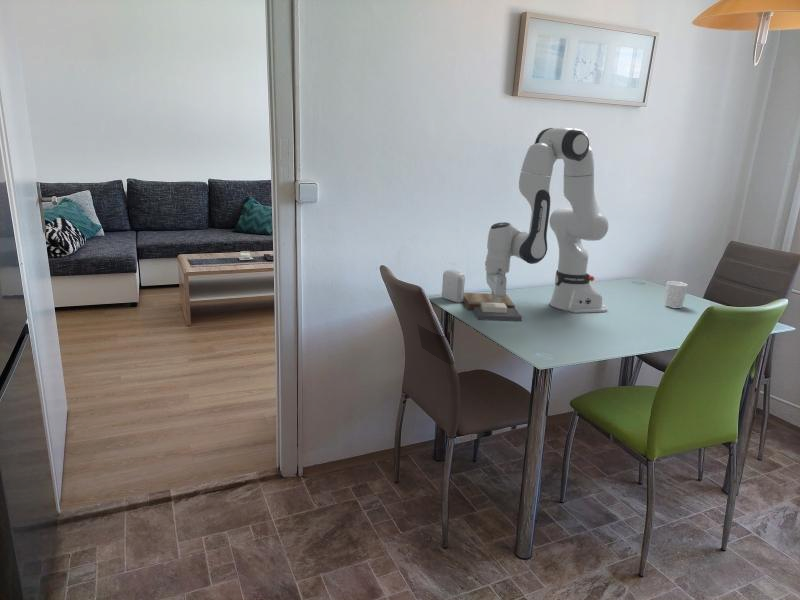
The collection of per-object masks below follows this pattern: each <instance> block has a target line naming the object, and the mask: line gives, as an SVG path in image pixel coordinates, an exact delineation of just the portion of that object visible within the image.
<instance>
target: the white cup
mask: <svg viewBox="0 0 800 600" xmlns="http://www.w3.org/2000/svg"><path fill="white" fill-rule="evenodd" d="M688 286H689V285H688V284H687V283H686V282H681V281H677V280H668V281H667V282H666V285H665V292H664V293H665V294H664V303H665V305H666V306H670V307H676V308H680V307H682V308H683V304H684V301H685V297H686V294H687V289H688ZM665 305H664V306H665ZM666 306H665V307H666Z"/></svg>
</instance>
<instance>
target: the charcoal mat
mask: <svg viewBox="0 0 800 600" xmlns="http://www.w3.org/2000/svg"><path fill="white" fill-rule="evenodd" d="M473 312H474V314H475V313H476V314H475V316H476V315H477V316H476V318H477V317H478V318H477V320H481V319H492V320H491V321H519V322H521V321H522V318H523V317H522V315H521V313H519V312H518V310H517V309H516V307H515V308H507V313H499V312H483V311H482V309H481V307H474V310H473Z"/></svg>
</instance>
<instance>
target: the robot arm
mask: <svg viewBox="0 0 800 600" xmlns="http://www.w3.org/2000/svg"><path fill="white" fill-rule="evenodd" d="M593 153H594V152H593V149H592V147H590V139H589V136H588V134H587V132H585V131H584V130H582V129H579V128H571V127H565V126H564V127H555V128H554V127H549V128H546V129H543V130H541V131H540V132H539V133H538V134H537V137H536V138H535V141H534V143H533V144H532V145H530V146H529V148H528V149H527V151H526V155H525V157H524V160H523V162H522V166H521V170H520V174H519V180H518V189H519V192H520V194H521V195H522V196H523V197H524V198H525V200H526V201H527V202H528V203H529V205H530V208H531V215H530V224H529V231H528V232H527V231H523V230H520V229H518V228H516V227H515V226H513V225H512V224H511V223H510V222H505V221H504V222H497V223H494V224H492V225H491V226H490V228H489V231H488V235H487V236H488V237H487V253H486V259H485V261H484V264H485V265H484V266H485V271H486V274H485V278H486V284H487V285H488V287H489V288H490V289H491V294H492V301H493V302H494V303H497V302H498V298H499V297H505V295H506V294H507V276H506V274H507V273H509V272H510V266H511V257H513V256H514V257H516V258H518V259H520V260H522V261H524V262H526V263H527V264H532V265H534V264H538V263H540V262H541V261H543V259H544V258H545V257H546V255H547V252H548V239H547V237H548V235H547V234H548V226H549V227H550V229H551V230H552V231H553V233H554V235H555V238H556V240H557V245H558V265H557V269H556V272H555V276H554V289H553V292H552V293H553V294H552V295H551V299H550V301H549V305H550V306H551V307H553V308H555V309H559V310H562V311H563V310H564V311H567V312H571V313H573V314H574V313H602V312H608V307H607V305H606V304H605V303H603V296H602V294H601V292H600V291H599V290H598V289H597V288H596V287H595V286H594V285H593V284H592V283H591V282H594V281H595V277H594V276H593V275H590V274H589V273H588V272H587V271H588V262H589V253H588V251H587V250H586V248H585V247H584V245H583V243H582V240H584V241H594V242H595V241H601V240H602V239H603V238H605V236H606V235H607V233H608V230H609V221H608V218H606V216H605V215H604V214H603V212H601V210H600V208H599V206H598V203H597V200H596V195H595V163H594V154H593ZM557 160H563V164H564V165H563V196H564V197H565V199H566V200H567V201H568V202H569V204H570V206H571V207H561V208H560V207H558V208H556V209H554V211H552V212H551V214H550V210H551V209H550V208H551V195H550V185H551V179H552V175H553V170H554V165H555V163H556V162H557Z"/></svg>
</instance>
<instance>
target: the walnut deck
mask: <svg viewBox="0 0 800 600" xmlns="http://www.w3.org/2000/svg"><path fill="white" fill-rule="evenodd" d="M463 302H464V304H465V307H466V308H467V310H468V311H474V307H481V302H487V303H494V302H493V301H492V293H480V292H479V293H475V292H474V293H472V292H464V298H463ZM497 303H504V304H505V305H506V307H507V308H515V309H516V304H515V303H514V302H513V300H512V299H510V297H509V296H508V294H507V293H506V295H505V297H499V298H498V302H497Z"/></svg>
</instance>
